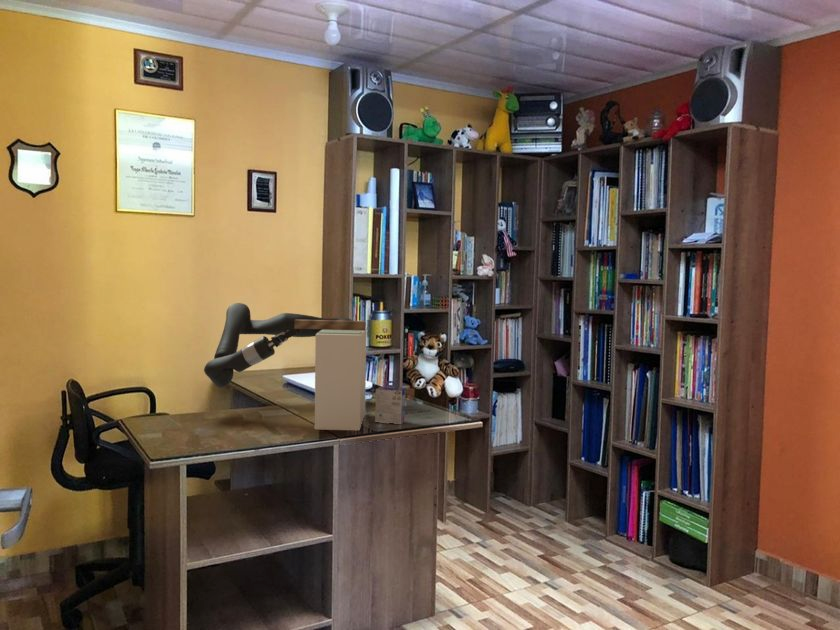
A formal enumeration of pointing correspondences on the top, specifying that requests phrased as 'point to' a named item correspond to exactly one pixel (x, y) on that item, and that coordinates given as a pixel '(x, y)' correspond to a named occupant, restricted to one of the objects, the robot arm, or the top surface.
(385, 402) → the ink cartridge box
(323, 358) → the tall tan cardboard box
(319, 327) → the walnut rod
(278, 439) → the top surface
